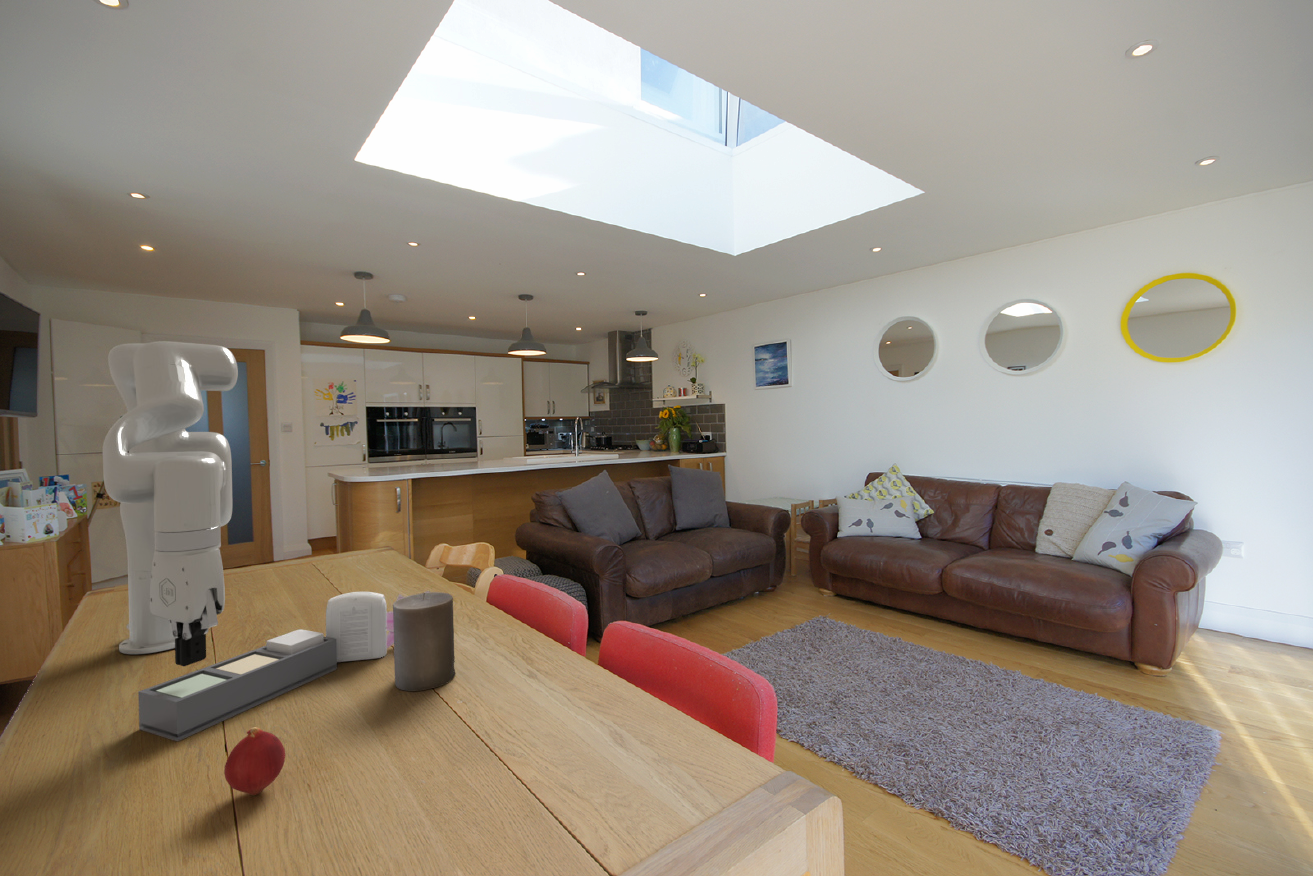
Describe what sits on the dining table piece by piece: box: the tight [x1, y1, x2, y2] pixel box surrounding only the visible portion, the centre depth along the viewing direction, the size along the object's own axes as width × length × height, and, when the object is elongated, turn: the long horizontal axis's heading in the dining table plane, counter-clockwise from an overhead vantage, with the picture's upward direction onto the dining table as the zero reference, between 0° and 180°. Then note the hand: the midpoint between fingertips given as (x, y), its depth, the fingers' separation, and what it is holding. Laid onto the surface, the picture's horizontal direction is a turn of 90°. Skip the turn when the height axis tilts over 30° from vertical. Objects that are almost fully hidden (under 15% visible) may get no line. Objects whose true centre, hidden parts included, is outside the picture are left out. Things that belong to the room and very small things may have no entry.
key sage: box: [156, 674, 226, 698], centre depth 84 cm, size 6×6×4 cm
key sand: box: [216, 654, 279, 675], centre depth 91 cm, size 6×6×4 cm
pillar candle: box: [392, 591, 456, 692], centre depth 97 cm, size 10×10×15 cm
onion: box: [223, 726, 286, 796], centre depth 67 cm, size 6×6×8 cm
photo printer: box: [325, 591, 388, 663], centre depth 106 cm, size 10×4×12 cm, turn 106°
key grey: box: [266, 628, 325, 655], centre depth 99 cm, size 6×6×4 cm
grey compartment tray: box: [137, 636, 338, 742], centre depth 91 cm, size 9×25×6 cm, turn 159°
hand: (191, 661), depth 84 cm, fingers closed
